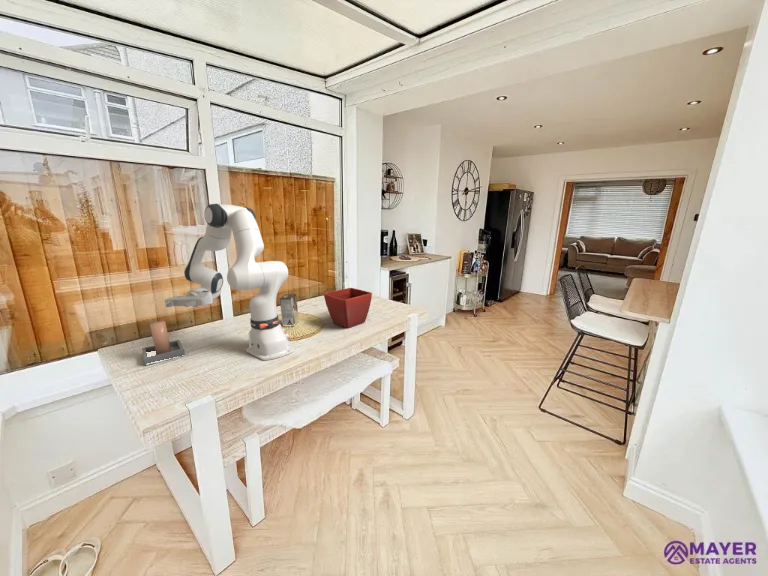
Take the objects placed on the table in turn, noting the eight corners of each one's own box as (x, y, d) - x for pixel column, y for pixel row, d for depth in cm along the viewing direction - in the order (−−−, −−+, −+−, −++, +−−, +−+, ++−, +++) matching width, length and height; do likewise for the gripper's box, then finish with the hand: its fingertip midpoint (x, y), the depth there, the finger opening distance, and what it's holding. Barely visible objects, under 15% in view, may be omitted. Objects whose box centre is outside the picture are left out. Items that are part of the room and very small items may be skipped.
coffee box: (287, 321, 178) (284, 293, 174) (299, 321, 178) (296, 293, 174) (282, 327, 169) (279, 298, 166) (294, 327, 169) (291, 298, 165)
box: (185, 355, 139) (184, 349, 138) (145, 366, 130) (143, 359, 129) (180, 345, 150) (179, 339, 149) (143, 354, 141) (141, 348, 140)
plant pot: (352, 314, 187) (350, 287, 183) (373, 322, 174) (372, 292, 170) (324, 323, 174) (322, 293, 170) (346, 332, 161) (344, 300, 157)
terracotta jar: (172, 353, 139) (166, 323, 136) (157, 357, 136) (150, 326, 133) (170, 349, 143) (164, 320, 140) (155, 353, 140) (149, 323, 137)
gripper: (175, 292, 160) (154, 299, 147) (213, 291, 158) (195, 298, 145) (178, 304, 162) (156, 312, 148) (215, 303, 160) (197, 311, 146)
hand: (176, 305), depth 146 cm, fingers open, 8 cm apart
